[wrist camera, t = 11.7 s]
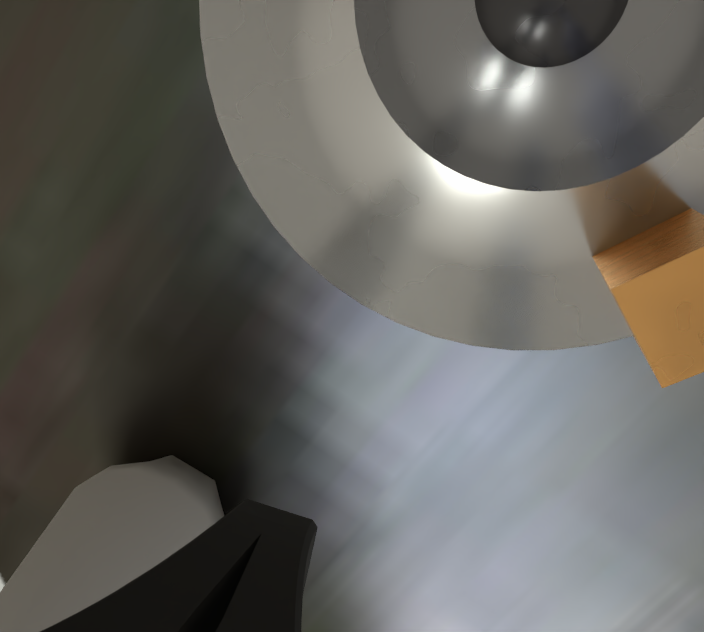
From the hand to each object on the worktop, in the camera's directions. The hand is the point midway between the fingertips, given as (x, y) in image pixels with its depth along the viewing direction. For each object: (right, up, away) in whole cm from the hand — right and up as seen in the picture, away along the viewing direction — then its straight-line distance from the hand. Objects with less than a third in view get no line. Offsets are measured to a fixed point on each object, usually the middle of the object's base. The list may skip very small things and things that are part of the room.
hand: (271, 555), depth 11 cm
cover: (+6, +11, +3) cm, 13 cm away
